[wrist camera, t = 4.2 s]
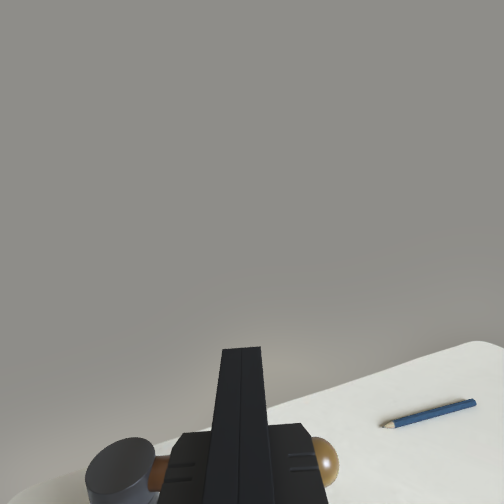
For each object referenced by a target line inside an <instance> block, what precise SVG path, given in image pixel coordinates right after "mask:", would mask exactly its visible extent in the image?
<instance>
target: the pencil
mask: <svg viewBox="0 0 504 504" xmlns="http://www.w3.org/2000/svg"><path fill="white" fill-rule="evenodd" d="M475 405H477V404H476V401H475V400H474V399H469V400H465V401H461V402H458V403H454V404H450V405H446V406H443V407H439V408H435V409H432V410H428V411H424V412H421V413H417V414H414V415H410V416H406V417H403V418H399V419H396V420H393V421H390V422H389V423H387V424H386V425H384V426H383V427H382V428H397V427H401V426H404V425H408V424H412V423H415V422H419V421H422V420H426V419H430V418H433V417H437V416H440V415H444V414H448V413H451V412H455V411H458V410H462V409H466V408H469V407H473V406H475Z"/></svg>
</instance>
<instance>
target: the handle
mask: <svg viewBox="0 0 504 504" xmlns="http://www.w3.org/2000/svg"><path fill="white" fill-rule="evenodd" d="M311 438H312V442H313V446H314V450H315V455H316V457H317V461H318V465H319V470H320V473H321V477H322V481H323V484H324V488H325V487H328V486H329V485H331V484H332V483H333V482H334V481H335V479H336V478H337V475H338V472H339V459H338V455H337V453H336V451H335V449H334V448H333V446H332V445H331V444H330V443H329V442H328V441H326V440H325V439H322V438H319V437H311ZM169 458H170V455H166V456H156V455H155V450H154V447H153V445H152V444H151V443H150V442H149V441H148V440H146V439H143V438H138V437H133V438H126V439H122V440H119V441H117V442H115V443H113V444H111V445H109V446H107V447H106V448H104V449H103V450H102V451H101V452H100V453H99V454H98V455H96V457H95V458H94V459H93V460H92V461H91V463H90V465H89V466H88V468H87V471H86V475H85V482H86V487H87V491H88V496H89V500H90V504H148V503H149V502H150V500H151V499H152V497H153V496H154V494H155V492H160V490H161V487H162V483H163V482H164V476H165V472H166V469H167V467H168V462H169Z"/></svg>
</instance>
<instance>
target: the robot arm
mask: <svg viewBox="0 0 504 504" xmlns="http://www.w3.org/2000/svg"><path fill="white" fill-rule="evenodd" d="M157 504H328V500H327V496H326V492H325V488H324V484H323V481H322V477H321V473H320V470H319V465H318V461H317V457H316V455H315V450H314V446H313V442H312V438H311V435H310V434H309V433H308V432H307V430H306V429H305V428H304V427H303V425H302V424H301V423H293V424H280V425H268V421H267V411H266V400H265V390H264V379H263V368H262V357H261V347H248V348H234V349H223V350H222V357H221V364H220V371H219V379H218V386H217V393H216V400H215V407H214V414H213V422H212V429H211V431H204V432H191V433H183V434H182V435H181V437H180V438H179V439H178V441H177V442H176V444H175V445H174V446H173V448H172V451H171V454H170V458H169V462H168V467H167V469H166V472H165V476H164V482H163V483H162V487H161V490H160V494H159V498H158V501H157Z"/></svg>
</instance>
